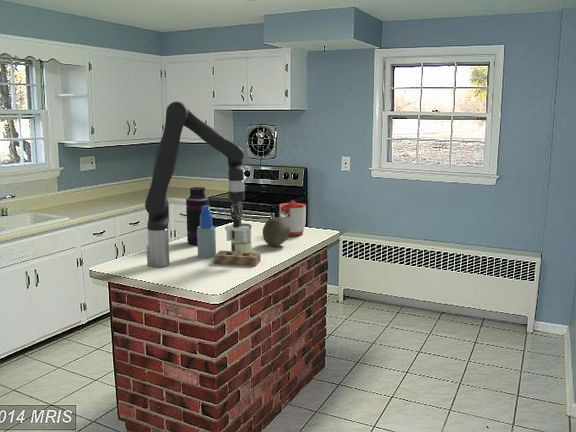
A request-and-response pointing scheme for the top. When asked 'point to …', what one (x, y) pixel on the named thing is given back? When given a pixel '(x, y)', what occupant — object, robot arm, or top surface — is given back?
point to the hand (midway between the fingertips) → (237, 226)
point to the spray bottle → (206, 234)
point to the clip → (240, 228)
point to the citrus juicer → (294, 216)
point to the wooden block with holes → (237, 258)
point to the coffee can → (241, 240)
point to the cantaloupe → (276, 231)
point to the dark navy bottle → (195, 211)
